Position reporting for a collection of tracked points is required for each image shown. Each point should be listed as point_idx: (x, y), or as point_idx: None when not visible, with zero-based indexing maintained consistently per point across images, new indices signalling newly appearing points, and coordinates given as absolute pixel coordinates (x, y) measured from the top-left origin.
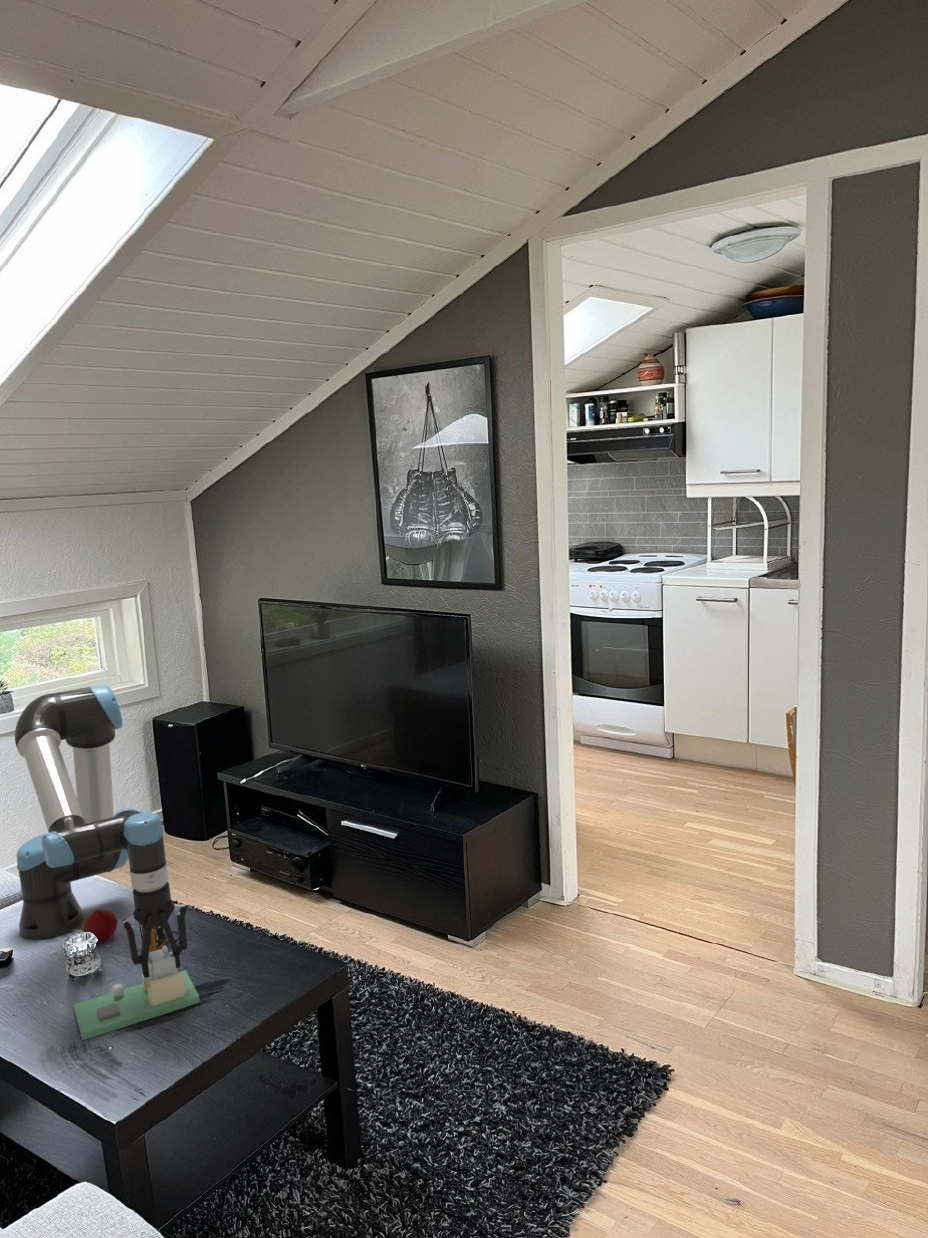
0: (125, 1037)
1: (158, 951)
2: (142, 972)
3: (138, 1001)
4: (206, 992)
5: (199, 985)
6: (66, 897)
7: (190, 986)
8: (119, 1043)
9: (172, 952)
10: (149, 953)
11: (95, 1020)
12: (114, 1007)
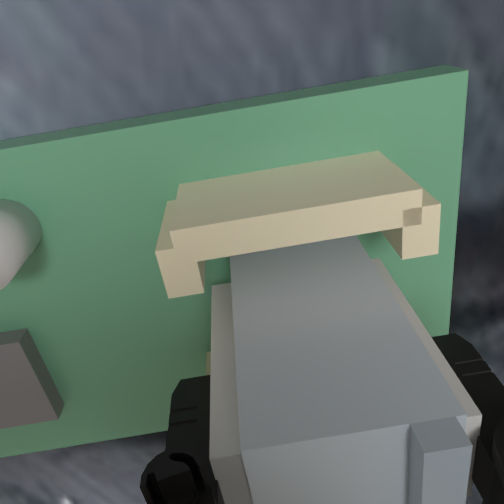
0: (114, 471)
1: (359, 462)
2: (172, 411)
3: (147, 326)
4: (484, 292)
5: (479, 212)
6: None
7: (435, 291)
8: (96, 493)
9: (483, 459)
10: (255, 468)
11: None
12: (18, 379)
